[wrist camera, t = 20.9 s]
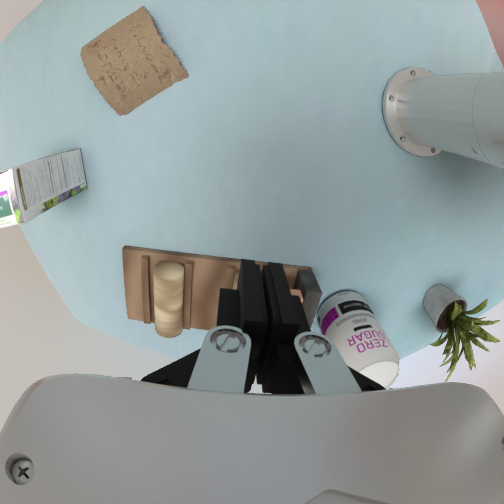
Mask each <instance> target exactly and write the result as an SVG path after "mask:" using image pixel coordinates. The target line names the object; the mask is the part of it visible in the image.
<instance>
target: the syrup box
mask: <svg viewBox="0 0 504 504" xmlns="http://www.w3.org/2000/svg"><path fill="white" fill-rule="evenodd" d="M85 189H87V185H86V180H85V175H84V169H83V163H82V157H81V151H80V149H76V150H72V151H67V152H63V153H59V154H56V155H52V156H48V157H44V158H41V159H37V160H34V161H31V162H27V163H24V164H21V165H18V166H15V167H12V168H9V169H6V170H3V171H1V172H0V228H4V227H8V226H13V225H18V224H22V223H26V222H28V221H30V220H31V219H33V218H35V217H36V216H38V215H40V214H41V213H43V212H45V211H47V210H48V209H50V208H52V207H54V206H55V205H57V204H59V203H61V202H63V201H65V200H66V199H68V198H70V197H72V196H74V195H76V194H78V193H80V192H82V191H83V190H85Z"/></svg>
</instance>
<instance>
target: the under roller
mask: <svg viewBox="0 0 504 504" xmlns="http://www.w3.org/2000/svg"><path fill="white" fill-rule="evenodd" d="M153 283H154V313H155V330H156V332H157V333H158V334H159V335H160V336H162V337H166V338H173V337H176V336H178V335H180V334H181V332H182V323H183V287H184V267H183V266H182V265H181V264H179V263H176V262H171V261H165V262H160V263H157V264H156V265H155V266H154V268H153Z"/></svg>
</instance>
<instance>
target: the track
mask: <svg viewBox="0 0 504 504" xmlns="http://www.w3.org/2000/svg"><path fill="white" fill-rule="evenodd" d="M122 252H123V270H124V284H125V296H126V306H127V315H128V319H133V320H140V321H144V323H147V324H151V322H152V323H155V313H154V283H153V268H154V266H155V265H156V264H157V263H160V262H165V261H171V262H176V263H179V264H181V265H182V266H183V267H184V287H183V323H182V327H183V329H190V328H196V329H204V330H211V329H212V328H215V327H216V321H217V311H218V301H219V292H220V288H227V289H233V285H234V278H235V274H236V273H237V272H238V271H239V270H240V264H241V259H232V258H223V257H215V256H206V255H198V254H189V253H181V252H172V251H164V250H156V249H148V248H139V247H131V246H124V247H123V249H122ZM255 264H259V265H260V270H261V272H262V267H263V265H268V263H267V262H258V261H255ZM282 265H283V268H284V271H285V275H286V278H287V281H288V285H289V288H290V289H295V290H300V291H301V294H302V297H303V302H302V305H303V308H304V311H305V314H306V317H307V320H308V324H309V327H310V328H311V325H312V322H313V319H314V316H315V313H316V310H317V307H318V304H319V301H320V298H321V295H322V291H321V289H320V287H319V285H318V282H317V280H316V278H315V276H314V274H313V271H312V269H311V267H303V266H294V265H285V264H282Z"/></svg>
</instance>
